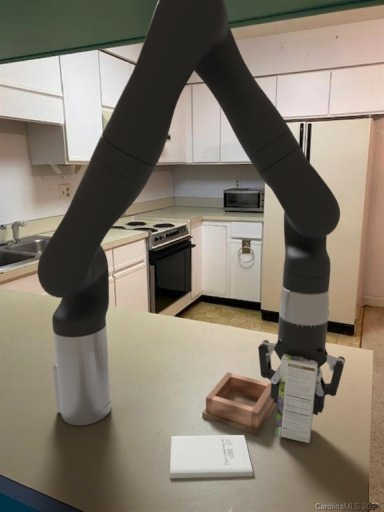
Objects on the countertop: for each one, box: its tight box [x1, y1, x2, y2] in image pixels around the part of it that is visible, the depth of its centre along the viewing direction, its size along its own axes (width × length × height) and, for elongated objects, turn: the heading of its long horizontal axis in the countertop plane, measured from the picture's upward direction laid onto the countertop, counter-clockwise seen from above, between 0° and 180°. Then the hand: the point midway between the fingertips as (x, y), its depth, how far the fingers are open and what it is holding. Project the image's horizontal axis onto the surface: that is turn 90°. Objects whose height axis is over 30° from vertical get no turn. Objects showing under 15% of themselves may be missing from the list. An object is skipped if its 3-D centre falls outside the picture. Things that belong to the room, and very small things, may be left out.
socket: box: [201, 371, 278, 437], centre depth 73 cm, size 11×11×4 cm
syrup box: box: [274, 354, 318, 444], centre depth 65 cm, size 6×6×14 cm
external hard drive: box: [169, 434, 254, 479], centre depth 62 cm, size 2×8×12 cm
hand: (296, 406), depth 66 cm, fingers closed on syrup box, 6 cm apart
